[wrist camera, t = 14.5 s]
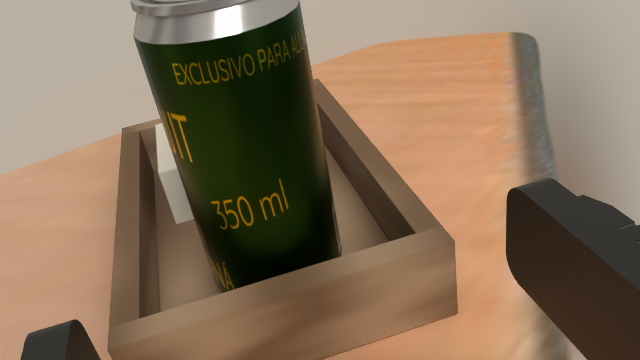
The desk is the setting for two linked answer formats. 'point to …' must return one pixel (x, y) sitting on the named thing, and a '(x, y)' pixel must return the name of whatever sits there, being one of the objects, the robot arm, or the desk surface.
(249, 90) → the beer can
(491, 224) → the desk surface
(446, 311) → the crate
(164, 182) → the egg carton
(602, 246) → the robot arm
